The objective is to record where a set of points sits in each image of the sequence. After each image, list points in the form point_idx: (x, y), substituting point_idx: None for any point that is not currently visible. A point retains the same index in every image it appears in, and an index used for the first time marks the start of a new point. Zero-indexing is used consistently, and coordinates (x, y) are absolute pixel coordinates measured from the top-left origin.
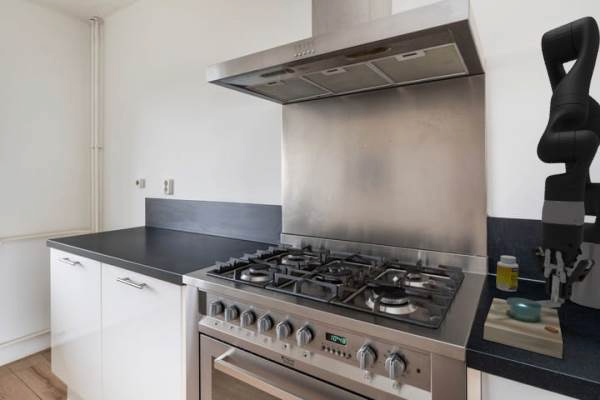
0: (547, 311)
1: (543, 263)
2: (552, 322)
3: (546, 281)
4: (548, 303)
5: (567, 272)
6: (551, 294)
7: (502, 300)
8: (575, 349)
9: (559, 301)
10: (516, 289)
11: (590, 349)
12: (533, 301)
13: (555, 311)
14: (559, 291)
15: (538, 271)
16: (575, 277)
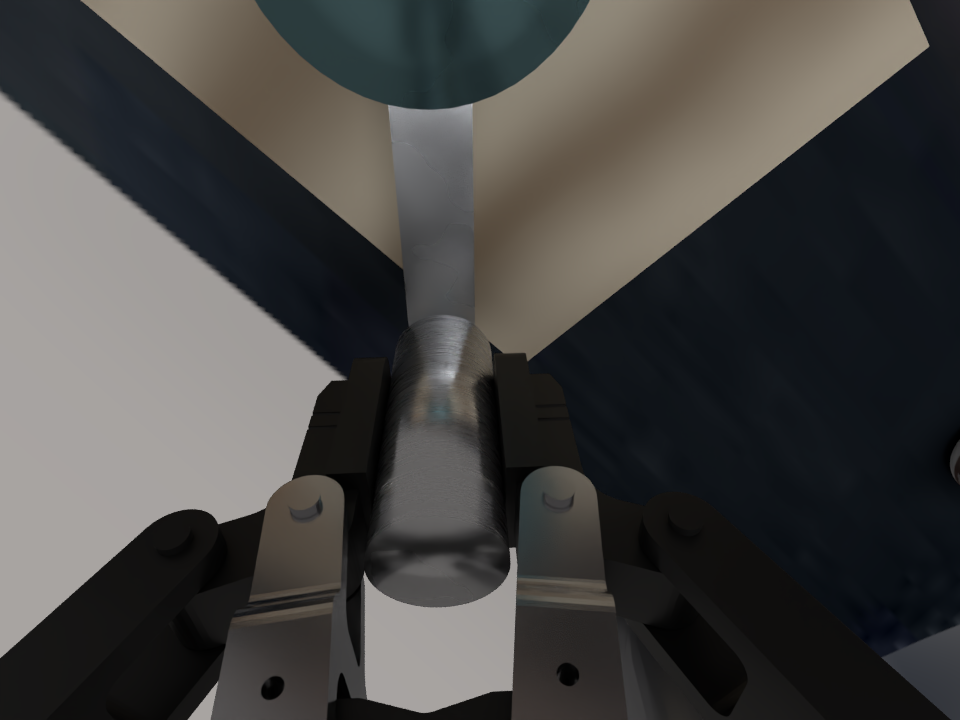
0: (506, 277)
1: (746, 673)
2: (291, 117)
3: (560, 440)
4: (401, 233)
5: (358, 655)
6: (469, 354)
7: (833, 83)
8: (112, 76)
9: (399, 344)
10: (953, 471)
11: (134, 183)
12: (443, 89)
13: (494, 331)
14: (373, 392)
15: (692, 499)
16: (86, 590)
